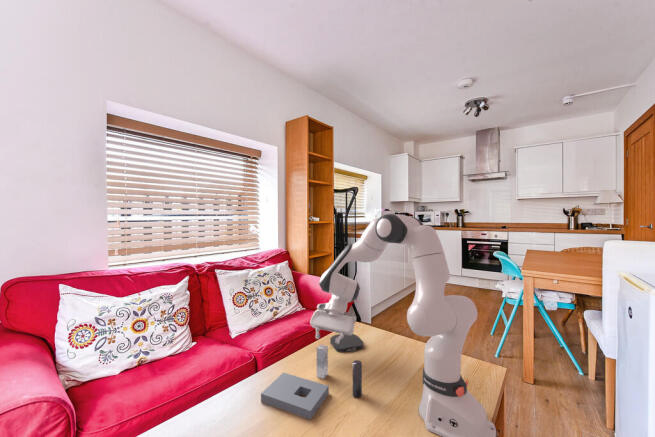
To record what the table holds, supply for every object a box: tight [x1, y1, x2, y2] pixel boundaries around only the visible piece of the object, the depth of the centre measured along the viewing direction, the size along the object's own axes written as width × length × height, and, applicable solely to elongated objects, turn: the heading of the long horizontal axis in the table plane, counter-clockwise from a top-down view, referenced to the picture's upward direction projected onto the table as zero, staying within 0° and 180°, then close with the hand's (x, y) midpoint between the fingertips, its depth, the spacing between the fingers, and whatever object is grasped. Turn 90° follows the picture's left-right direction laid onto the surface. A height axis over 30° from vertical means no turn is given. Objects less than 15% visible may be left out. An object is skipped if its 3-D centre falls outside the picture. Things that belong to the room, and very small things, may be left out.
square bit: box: [316, 344, 329, 380], centre depth 112 cm, size 3×3×12 cm
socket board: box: [260, 372, 330, 421], centre depth 99 cm, size 20×14×3 cm
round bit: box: [352, 359, 363, 399], centre depth 101 cm, size 3×3×12 cm
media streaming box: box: [329, 333, 364, 354], centre depth 139 cm, size 15×15×3 cm
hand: (326, 340), depth 118 cm, fingers open, 8 cm apart
